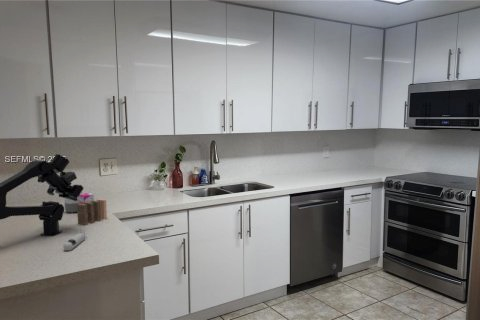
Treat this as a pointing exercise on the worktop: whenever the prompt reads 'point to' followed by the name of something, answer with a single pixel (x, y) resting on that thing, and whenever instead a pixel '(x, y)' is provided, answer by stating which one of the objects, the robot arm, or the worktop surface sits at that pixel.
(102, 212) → the end domino
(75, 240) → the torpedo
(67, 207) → the smart speaker
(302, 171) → the worktop surface
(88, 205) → the domino
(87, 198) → the supplement box
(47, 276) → the worktop surface
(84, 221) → the domino
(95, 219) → the domino
